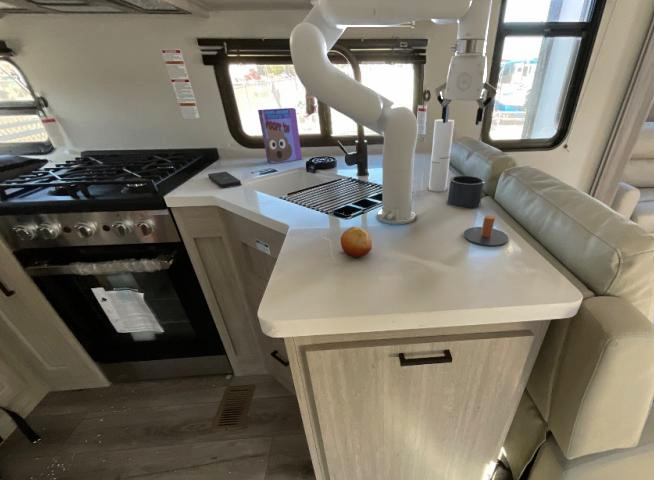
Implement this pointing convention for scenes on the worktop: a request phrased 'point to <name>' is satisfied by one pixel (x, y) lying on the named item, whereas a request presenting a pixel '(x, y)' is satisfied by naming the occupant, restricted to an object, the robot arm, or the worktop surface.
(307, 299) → the worktop surface
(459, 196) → the pot
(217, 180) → the smart home device
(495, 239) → the lid
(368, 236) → the fruit
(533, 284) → the worktop surface
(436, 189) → the white tall block
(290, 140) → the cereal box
